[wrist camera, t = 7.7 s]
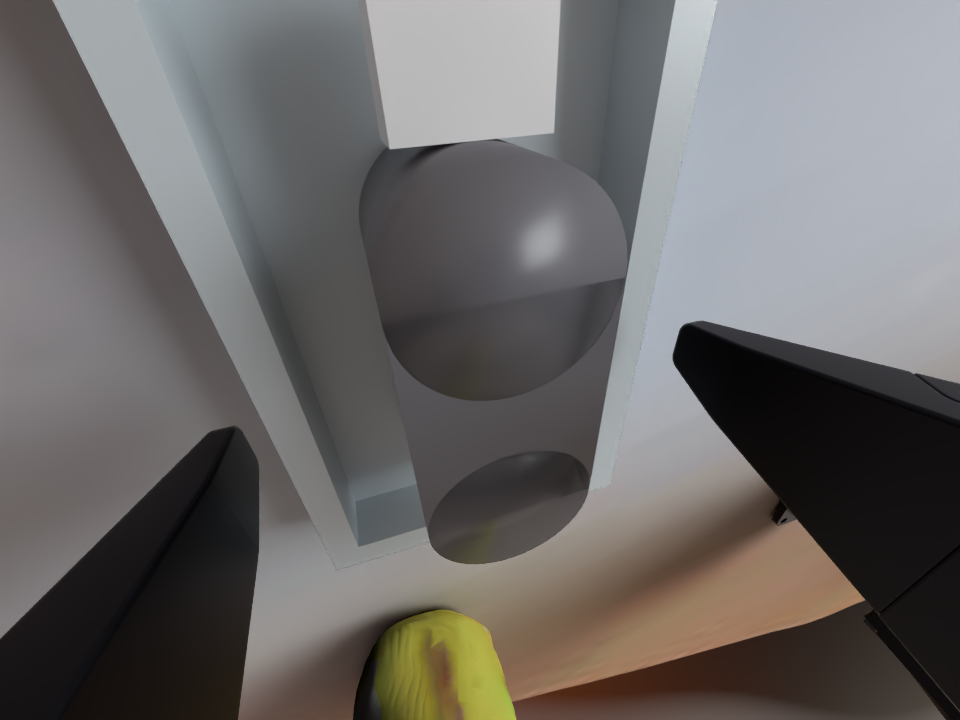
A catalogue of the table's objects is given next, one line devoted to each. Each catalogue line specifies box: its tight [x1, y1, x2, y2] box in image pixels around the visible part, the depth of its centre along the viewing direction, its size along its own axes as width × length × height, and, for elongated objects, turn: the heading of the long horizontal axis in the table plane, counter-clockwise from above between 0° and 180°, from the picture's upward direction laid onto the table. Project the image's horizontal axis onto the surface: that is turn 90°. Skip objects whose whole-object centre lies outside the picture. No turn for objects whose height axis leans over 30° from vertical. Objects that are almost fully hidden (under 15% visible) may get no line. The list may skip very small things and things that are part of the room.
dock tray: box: [53, 0, 718, 570], centre depth 9 cm, size 15×9×2 cm, turn 2°
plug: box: [357, 0, 627, 564], centre depth 8 cm, size 11×4×4 cm, turn 3°
